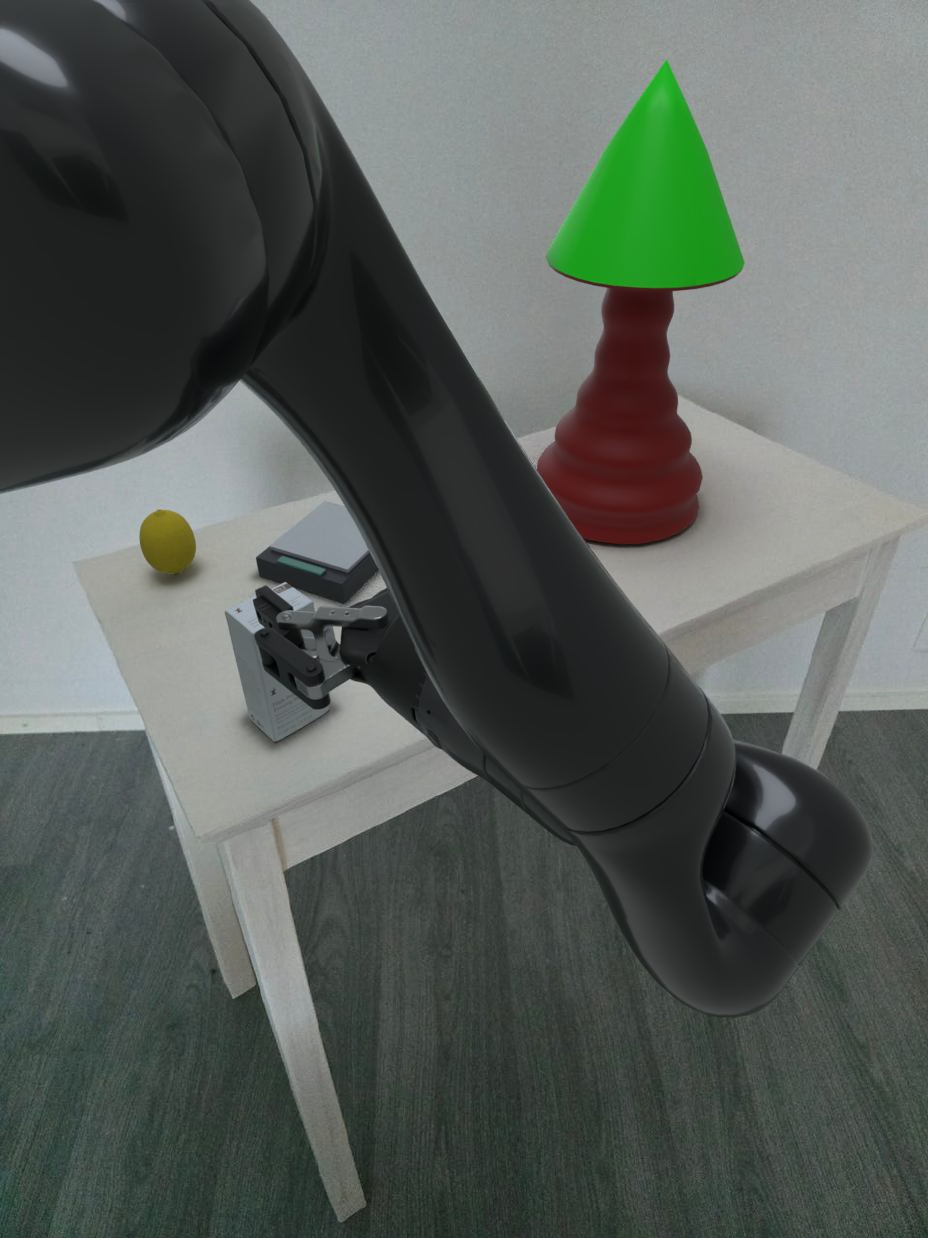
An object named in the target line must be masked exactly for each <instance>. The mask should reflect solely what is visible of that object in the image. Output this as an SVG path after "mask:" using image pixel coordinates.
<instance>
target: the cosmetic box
mask: <svg viewBox="0 0 928 1238" xmlns="http://www.w3.org/2000/svg"><path fill="white" fill-rule="evenodd" d="M270 589H272V590H273V591H274V592H275V593H276V594H278V595H279V596H280V597H281V598H283V599H284V600H285V601H286V602H288V603H289V604H290V605H291V606H293V610H294V611H307V612H316V610H315V603H314V601H313V600H312V599H310V598H309V597H307V596H306V595H305V594H303V593H302V592H301V591H299V590H298V589H297V588H294V587H292V586H290V585H289V584H288V583H286V582H284V583H279V584H278V585H276V586H273V587H270ZM255 598H257V597H256V594H254V595H252V596H250V597H249V598H247V599H246V600H243V601H242V602H240V603H238V604H236V605H234V606H232V607H229V608H228V609H225V610H224V616H225V619H226V620H225V621H226V624H227V629H228V633H229V637H230V641H231V646H232V651H233V655H234V659H235V663H236V667H237V671H238V675H239V680H240V684H241V688H242V692H243V697H244V701H245V706H246V709H247V714H248V718H249V720H250V721H251V722H252V723H254V724H255V725H256V727H257V728H259V729H260V730H261V731H262V732H263V733H264V734H265V735H266V736H267V737H268V738H269V739H270V740H271V741H273V742H274V743H276V742H279V741H280V740H282V739H285V738H286V737H287V736H290V735H292V734H294V733H295V732H297V731H298V730H300V729H302V728H303V727H305V726H307V725H309V724H311V723H312V722H313V721H315V720H317V719H319V718H320V717H322V716H323V715H325V714H326V713H327V712H328V711H329V710H330V704H329V705H328V706H327V707H326V708H323V709H319V710H316V709H312V708H311V707H310V706H308V705H307V704H306V703H305V702H303V701H302V700H301V699H300V698H298V697H297V696H296V695H295V694H293V693H292V692H291V691H290V690H288V689H287V688H286V687H285V686H283V685H282V684H281V683H280V682H278V681H277V680H276V679H275V678H273V677H272V676H271V675H270V674H268V673H267V672H266V671H265V670H264V668H263V664H262V658H261V655H260V651H259V648H258V645H257V644H256V641H255V637H254V635H255V633H256V632H257V631H258V630H260V629H263V628H264V626H262V625H261V624H260V623H259V622H258V618H257V615H256V611H255V608H254V604H253V599H255ZM301 631H302V635H303V637H314V635H313V633H312V632H311V631H309V630H301Z"/></svg>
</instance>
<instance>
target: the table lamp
mask: <svg viewBox="0 0 928 1238" xmlns="http://www.w3.org/2000/svg"><path fill="white" fill-rule="evenodd" d="M637 99H638V100H636V102H635V104H634V105H633V106H632V107H631V110H630V111H629V113H628V114H627V116H626V117H625V118H624V120H623V121H622V123H621V124H620V125H619V127H618V129H617V131H615V134H614V135H613V136H612V138H611V139H610V141H609V142H608V144H607V145H606V147H605V149H604V151H603V153H602V154H601V156H600V157H599V159H598V161H597V163H596V164H595V166H594V168H593V170H592V171H591V174H590V175H589V177H588V179H587V181H586V182H585V184H584V186H583V187H582V189H581V191H580V192H579V194H578V196H577V198H576V200H575V201H574V203H573V205H572V206H571V208H570V210H569V211H568V214H567V216H566V217H565V218H564V221H562V224H561V226H560V227H559V230H558V231H557V233H556V234H555V236H554V237H553V240H552V242H551V243H550V245H549V247H548V248H547V250H546V254H545V260H546V262H547V264H548V267H550V268H551V269H552V270H553V271H554V272H555V273H557V274H559V275H561V276H563V277H565V278H566V279H569V280H573V281H576V282H578V283H583V284H586V285H591V286H595V287H600V288H606V289H605V293H604V295H603V298H602V301H601V305H600V313H601V319H602V332H601V335H600V337H599V339H598V342H597V343H596V346H595V349H594V356H593V360H594V361H593V368H592V371H591V372H590V373H589V374H588V375H587V376H586V377H585V378H584V380H583V381H582V383H581V384H580V386H579V388H578V389H577V392H576V400H575V405H574V406H573V407H572V408H571V409H570V410H569V411H567V412H566V413H565V414H563V415H562V417H561V418H560V419H559V421H558V423H557V424H556V426H555V431H554V441H553V442H551V443H550V444H549V445H548V446H547V447H546V448H545V449H544V450H543V451H542V452H541V455H540V456H539V458H538V459H537V465H536V469H537V471H538V473H539V474H540V476H541V477H542V479H543V480H544V482H545V483H546V485H547V486H548V488H549V489H550V491H551V492H552V494H553V495H554V497H555V498H556V500H557V501H558V503H559V504H560V506H561V507H562V508H563V510H564V511H565V513H566V514H567V516H568V517H569V519H570V520H571V521H572V523H573V524H574V526H575V527H576V529H577V530H578V531H579V533H580V534H581V536H582V537H583V538H584V540H588V541H591V542H592V541H593V542H598V543H604V544H614V545H615V544H616V545H641V544H643V545H644V544H648V543H653V542H658V541H660V540H664V539H667V538H670V537H671V536H674V535H676V534H678V533H680V532H682V531H684V530H685V529H687V528H688V527H690V525H691V524H693V522H694V521H695V519H696V518H697V517H698V513H699V509H700V504H699V503H700V502H699V497H698V493H699V491H700V490H701V486H702V483H703V478H704V477H703V470H702V468H701V465H700V464H699V462H698V460H697V458H696V457H695V456H694V454H692V452H691V448H692V444H693V439H692V432H691V431H690V428H689V426H688V425H687V424H686V422H685V421H684V419H683V418H682V417H681V416H680V415H679V413H678V408H679V396H678V395H679V394H678V392H677V390H676V387H675V385H674V384H673V382H672V380H671V379H670V376H669V365H670V361H671V350H670V349H671V348H670V345H669V340H668V330H669V326H670V324H671V322H672V320H673V317H674V314H675V299H674V292H681V291H690V290H691V291H692V290H698V289H704V288H709V287H710V288H711V287H713V286H717V285H721V284H725V283H726V282H728V281H730V280H733V279H734V278H736V277H737V276H738V275H739V274H740V273H741V272H742V270H743V269H744V267H745V262H746V261H745V260H744V257H743V253H742V250H741V247H740V245H739V241H738V238H737V235H736V232H735V230H734V226H733V223H732V221H731V217H730V214H729V211H728V209H727V205H726V202H725V200H724V196H723V193H722V190H721V187H720V184H719V182H718V179H717V176H716V173H715V170H714V166H713V163H712V161H711V157H710V155H709V152H708V149H707V147H706V145H705V144H706V143H705V142H704V139H703V137H702V134H701V133H700V130H699V128H698V125H697V123H696V121H695V119H694V116H693V113H692V111H691V109H690V107H689V104H688V103H687V99H686V98H685V96H684V94H683V91H682V89H681V87H680V85H679V83H678V81H677V78H676V77H675V74H674V72H673V70H672V67H671V65H670V63H669V61H668V59H667V58H666V59H665V60H664V62H663V64H662V65H660V68H659V69H658V71H657V72H656V73H655V75H654V76H653V77H652V79H651V80H650V82H649V84H648V85H647V86H646V88H645V89H644V90H643V92H642V93H641V95H640V96H639V98H637Z"/></svg>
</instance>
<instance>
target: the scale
mask: <svg viewBox="0 0 928 1238" xmlns="http://www.w3.org/2000/svg"><path fill="white" fill-rule="evenodd" d="M255 561H256V566H257V572H258V576H259V577H261V578H263V579H267V580H269V581H273V582H275V583H279V584H282V583H284V582H286V583H288V584H289V585H290V586H292V587H293V588H295V589H296V590H300V591H304V592H307V593H310V594H312V595H316V596H318V597H322V598H326V599H329V600H332V601H335V602H338V603H341V604H346V603H347V602H348V601H349V600H350V599H351V597H353V596H354V595H355V594H356V593H357V592H358V591H359V590H360V589H361V588H362V587H363V586H364V585H365V584H366V583H367V582H368V581H369V580H370V579H371V578H372V577H373V576H374V575H375V574H376V573H377V572H379V570H378V567H377V566H375V565H374V564H373V563H372V561H371V559H370V554H369V549H368V547H367V545H366V543H365V541H364V539H363V537H362V535H361V533H360V532H359V530H358V528H357V526H356V524H355V522H354V521H353V519H352V517H351V515H350V514H349V512H348V510H347V509H346V507H345V505H341V504H337V503H333V502H330V501H326V500H324V501H323V502H321V503H320V504H319V505H318V506H316V507H315V508H314V509H313V510H311V511H310V512H309V513H308V514H306V516H304V517H303V518H302V519H300V520H299V521H298V522H297V523H296V524H295V525H293V526H292V527H290V529H288V530H286V532H285V533H284V534H282V535H281V536H279V537H278V539H276V540H275V541H274V542H273V543H271V544H270V545H269V546H268V547H266V549H265V550H263V551H262V552H261V553H259V554H257V556H256V557H255Z"/></svg>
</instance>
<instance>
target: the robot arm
mask: <svg viewBox="0 0 928 1238" xmlns="http://www.w3.org/2000/svg"><path fill="white" fill-rule="evenodd" d="M363 171H364V170H362V167H361V166H360V164H359V162H358V160H357V159H356V157H355V155H354V153H353V151H352V150H351V148H350V146H349V144H348V142H347V141H346V139H345V137H344V135H343V133H342V132H341V129H340V128H339V127H338V125H337V123H336V121H335V120H334V117H333V116H332V114H331V113H330V111H329V109H328V108H327V106H326V104H325V102H324V100H323V99H322V97H321V96H320V93H319V91H318V90H317V89H316V87H315V85H314V84H313V82H312V81H311V78H310V77H309V76H308V74H307V72H306V71H305V69H304V68H303V66H302V65H301V63H300V62H299V60H298V58H297V57H296V55H295V54H294V52H293V51H292V50H291V48H290V47H289V45H288V44H287V42H286V41H285V40H284V38H283V37H282V36H281V34H280V33H279V31H278V30H277V29H276V27H275V26H274V24H273V23H272V22H271V21H270V20H269V18H268V17H267V16H266V15H265V14H264V13H263V12H262V10H260V9H259V8H258V6H256V4H254V3H253V2H252V1H251V0H0V495H2V494H3V495H4V494H6V493H11V492H15V491H16V492H17V491H21V490H24V489H28V488H33V487H36V486H40V485H45V484H50V483H53V482H57V481H61V480H65V479H68V478H69V479H70V478H72V477H77V476H81V475H85V474H88V473H92V472H95V471H100V470H102V469H107V468H109V467H112V466H115V465H118V464H121V463H124V462H128V461H130V460H132V459H133V460H134V459H135V458H137V457H140V456H143V455H145V454H147V453H149V452H151V451H153V450H155V449H157V448H160V447H162V446H163V445H165V444H167V443H169V442H171V441H173V440H174V439H176V438H178V437H179V436H181V435H183V434H184V433H186V432H187V431H189V430H190V429H192V428H193V427H194V426H196V425H197V424H198V423H199V422H201V421H202V420H203V419H204V418H205V417H207V416H208V415H209V414H210V413H211V412H212V411H213V409H215V408H216V407H217V406H218V405H219V403H221V402H222V401H223V400H224V399H225V397H227V396H228V395H229V393H230V392H231V391H232V390H233V389H234V388H235V387H236V385H237V384H238V383H239V382H240V383H241V384H242V385H243V386H245V387H246V389H248V390H249V391H250V392H251V393H252V394H253V395H255V397H257V399H259V400H260V401H261V402H262V403H263V404H264V405H265V406H266V407H267V408H268V409H269V410H270V411H271V412H272V413H273V414H274V415H275V416H276V417H277V418H278V419H279V420H280V421H281V422H282V424H283V425H284V426H285V427H286V428H287V429H288V430H289V431H290V432H291V433H292V435H293V436H294V437H295V438H296V439H297V440H298V442H299V443H300V444H301V445H302V447H303V449H305V450H306V452H307V453H308V454H309V456H310V457H311V458H312V459H313V461H314V462H315V463H316V465H317V466H318V468H319V469H320V471H321V472H322V473H323V475H324V476H325V477H326V479H327V480H328V481H329V483H330V484H331V486H332V487H333V490H334V491H335V493H336V494H337V496H338V497H339V499H340V500H341V502H342V504H343V506H345V507H346V509H347V510H348V512H349V514H350V515H351V517H352V519H353V521H354V522H355V524H356V526H357V528H358V530H359V532H360V533H361V535H362V537H363V539H364V541H365V543H366V545H367V547H368V549H369V554H370V559H371V561H372V563H373V564H374V565H375V566H377V567H378V572H379V574H380V576H381V578H382V581H383V583H384V585H385V587H386V588H383V589H381V590H380V591H378V592H377V593H376V594H374V595H373V596H372V597H370V598H368V599H365V600H361V601H358V602H356V603H353V604H352V605H350V606H348V607H345V606H333V605H332V606H331V605H320V606H319V607H318V608H317V609H316V610H315V612H307V611H294V610H293V606H291V605H290V604H289V603H288V602H286V601H285V600H284V599H283V598H281V597H280V596H279V595H278V594H276V593H275V592H274V591H273V590H272V589H271V587H269V586H268V585H267V584H265V585H263V586H261V587H259V588H256V589H255V590H254V593H255V594H254V595H256V597H257V598H255V599H253V604H254V608H255V611H256V615H257V618H258V622H259V623H260V624H261V625H262V626H264V628H263V629H260V630H258V631H257V632H256V633H255V635H254V637H255V641H256V644H257V645H258V648H259V651H260V655H261V658H262V664H263V668H264V670H265V671H266V672H267V673H268V674H270V675H271V676H272V677H273V678H275V679H276V680H277V681H278V682H280V683H281V684H282V685H283V686H285V687H286V688H287V689H288V690H290V691H291V692H292V693H293V694H295V695H296V696H297V697H298V698H300V699H301V700H302V701H303V702H305V703H306V704H307V705H308V706H310V707H311V708H312V709H316V710H319V709H323V708H326V707H327V706H328V705H329V706H330V704H331V695H330V692H331V691H333V690H335V689H336V688H338V687H340V686H341V685H343V684H345V683H346V682H347V681H350V680H351V681H353V682H357V683H361V684H365V685H368V686H370V688H372V690H374V692H375V693H376V694H377V695H378V696H379V697H380V699H381V700H383V702H384V703H385V704H387V705H388V706H389V707H390V708H391V709H392V710H393V711H395V712H396V713H397V714H398V715H400V716H401V717H402V718H403V719H404V720H405V721H406V722H408V723H409V724H411V725H412V726H413V728H415V729H416V730H418V731H419V732H420V733H421V734H423V735H424V736H425V737H426V738H427V739H428V740H429V742H430V743H431V744H432V745H433V746H434V747H436V748H437V749H439V750H441V751H442V752H444V753H445V754H446V755H447V756H449V757H450V758H451V759H452V760H454V761H455V762H456V763H457V764H459V765H460V766H461V767H463V768H464V769H466V770H467V771H469V772H470V773H472V774H474V775H476V776H477V777H479V778H481V779H482V780H485V781H486V782H487V783H488V784H490V785H491V786H493V788H495V789H496V790H498V792H500V793H501V794H502V795H504V796H505V797H506V798H507V799H508V800H509V801H511V802H512V803H513V804H514V805H516V806H517V807H518V808H519V809H520V810H521V811H523V812H524V813H525V814H526V815H528V816H529V817H530V818H531V819H532V820H534V821H535V822H536V823H537V824H538V825H540V826H541V827H542V828H543V829H545V830H546V831H547V832H549V833H550V834H551V835H552V836H554V837H555V838H556V839H558V840H560V841H562V842H563V843H566V844H568V845H570V846H574V847H576V848H577V849H578V850H579V852H580V853H581V854H582V857H583V858H584V861H586V863H587V865H588V867H589V869H590V870H591V871H592V872H591V873H593V876H594V878H595V880H596V882H597V884H598V886H599V887H600V890H601V892H602V894H603V897H604V899H605V902H606V903H607V906H608V907H609V910H610V912H611V914H612V916H613V918H614V921H615V922H616V925H617V926H618V929H619V930H620V932H621V934H622V936H623V937H624V939H625V941H626V943H627V944H628V946H629V947H630V949H631V951H632V952H633V954H634V955H635V957H636V958H637V960H638V961H639V962H640V964H641V966H643V968H644V969H645V970H646V972H647V973H648V974H649V975H650V976H651V978H653V980H654V981H655V982H656V983H657V984H658V985H660V987H662V988H663V989H664V990H665V991H666V992H667V993H668V994H669V995H671V997H673V998H674V999H676V1000H677V1001H678V1002H680V1003H681V1004H683V1005H684V1006H686V1007H688V1008H690V1009H692V1010H693V1011H696V1012H698V1013H701V1014H704V1015H707V1016H709V1017H710V1016H711V1017H716V1018H726V1019H729V1018H733V1019H735V1018H736V1019H737V1018H742V1017H747V1016H750V1015H753V1014H756V1013H758V1012H760V1011H762V1010H763V1009H765V1008H766V1007H768V1006H769V1005H770V1004H771V1003H772V1002H773V1001H774V1000H775V999H777V998H778V996H779V995H780V994H781V993H782V992H783V990H784V989H785V988H786V986H787V985H788V983H789V982H790V980H791V979H792V978H793V976H794V975H795V974H796V972H797V971H798V969H799V966H801V965H802V963H803V962H804V961H805V960H806V959H807V957H808V955H809V954H810V952H811V951H812V950H813V948H815V946H816V944H817V943H818V942H819V940H820V939H821V937H822V936H823V935H824V933H826V931H827V929H828V928H829V927H830V925H831V924H832V923H833V921H834V920H835V918H836V917H837V916H838V914H839V913H838V912H839V911H841V910H842V909H843V908H844V906H845V905H846V903H847V902H848V901H849V899H850V898H851V897H852V895H853V894H854V893H855V891H856V890H857V888H858V887H859V885H860V884H861V883H862V881H863V879H864V878H865V876H866V874H867V873H868V871H869V869H870V866H871V864H872V862H873V859H874V840H873V835H872V832H871V829H870V827H869V825H868V822H867V820H866V818H865V816H864V815H863V813H862V811H861V809H860V808H859V806H858V805H857V803H856V802H855V801H854V799H852V797H851V796H850V795H849V793H847V792H846V791H845V790H844V789H843V787H841V786H840V785H839V784H838V783H837V782H836V781H834V780H832V779H831V778H830V776H827V775H826V774H825V773H823V772H822V771H820V770H818V769H816V768H814V767H812V766H811V765H810V764H807V763H805V762H803V761H801V760H799V759H797V758H795V757H793V756H789V755H786V754H784V753H781V752H777V751H775V750H772V749H768V748H765V747H763V746H760V745H757V744H752V743H749V742H745V741H741V740H736V739H734V737H733V734H732V732H731V730H730V727H729V726H728V724H727V722H726V721H725V719H724V717H723V715H722V713H721V712H720V711H719V709H718V707H716V705H715V704H714V703H713V701H712V700H711V699H710V698H709V696H708V695H707V694H706V693H705V691H704V690H703V689H702V688H701V686H699V684H698V683H697V681H696V680H695V679H694V678H693V676H692V675H691V674H690V673H689V671H688V670H687V669H686V668H685V666H684V665H683V664H682V662H681V661H680V660H679V659H678V657H677V656H676V655H675V653H674V652H672V650H671V649H670V647H669V646H668V645H667V644H666V642H665V641H664V640H663V639H662V637H660V635H659V634H658V633H657V631H656V630H655V629H654V628H653V626H651V624H650V623H649V622H648V621H647V619H646V618H645V617H644V616H643V615H642V614H641V612H640V610H638V608H637V607H636V606H635V605H634V604H633V602H632V601H631V600H630V598H629V597H628V596H627V595H626V593H625V592H624V590H623V589H622V588H621V587H620V586H619V584H618V583H617V582H616V581H615V579H614V578H613V576H612V575H611V574H610V573H609V571H608V570H607V569H606V567H605V566H604V564H603V563H602V562H601V560H600V559H599V557H598V556H597V555H596V554H595V552H594V551H593V549H592V548H591V546H590V545H589V544H588V542H587V541H586V539H584V538H583V537H582V536H581V534H580V533H579V531H578V530H577V529H576V527H575V526H574V524H573V523H572V521H571V520H570V519H569V517H568V516H567V514H566V513H565V511H564V510H563V508H562V507H561V506H560V504H559V503H558V501H557V500H556V498H555V497H554V495H553V494H552V492H551V491H550V489H549V488H548V486H547V485H546V483H545V482H544V480H543V479H542V477H541V476H540V474H539V473H538V471H537V467H536V466H535V465H534V464H533V462H532V460H531V458H530V457H529V456H528V454H527V452H526V451H525V449H524V448H523V446H522V445H521V443H520V441H519V440H518V439H517V436H516V435H515V434H514V432H513V431H512V429H511V427H510V426H509V424H508V423H507V421H506V419H505V418H504V417H503V415H502V413H501V412H500V409H499V408H498V406H497V405H496V403H495V401H494V400H493V398H492V396H491V395H490V393H489V392H488V390H487V388H486V387H485V385H484V383H483V382H482V380H481V378H480V376H479V375H478V373H477V371H476V370H475V368H474V366H473V365H472V363H471V362H470V360H469V358H468V356H467V355H466V353H465V352H464V349H463V348H462V347H461V345H460V343H459V341H458V340H457V338H456V336H455V335H454V333H453V331H452V329H451V328H450V326H449V325H448V323H447V321H446V320H445V318H444V316H443V315H442V312H441V311H440V310H439V308H438V306H437V304H436V302H435V301H434V299H433V298H432V296H431V294H430V293H429V291H428V289H427V287H426V286H425V284H424V282H423V281H422V279H421V277H420V275H419V273H418V271H417V270H416V268H415V266H414V264H413V262H412V261H411V259H410V257H409V255H408V253H407V251H406V249H405V248H404V246H403V244H402V242H401V240H400V238H399V236H398V234H397V233H396V231H395V230H394V227H393V226H392V224H391V222H390V220H389V218H388V216H387V214H386V212H385V210H384V209H383V207H382V204H381V203H380V201H379V199H378V197H377V196H376V193H375V191H374V189H373V188H372V186H371V184H370V183H369V181H368V178H367V177H366V175H365V173H364V172H363ZM334 627H338V628H341V631H340V641H339V642H338V641H337V639H336V634H335V630H334ZM301 630H309V631H311V632H312V633H313V635H314V637H303V635H302V631H301Z"/></svg>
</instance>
